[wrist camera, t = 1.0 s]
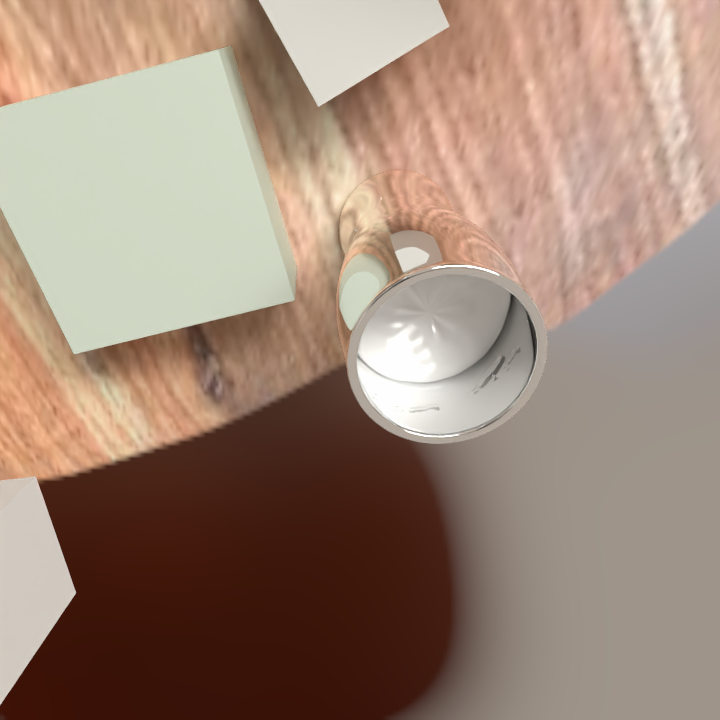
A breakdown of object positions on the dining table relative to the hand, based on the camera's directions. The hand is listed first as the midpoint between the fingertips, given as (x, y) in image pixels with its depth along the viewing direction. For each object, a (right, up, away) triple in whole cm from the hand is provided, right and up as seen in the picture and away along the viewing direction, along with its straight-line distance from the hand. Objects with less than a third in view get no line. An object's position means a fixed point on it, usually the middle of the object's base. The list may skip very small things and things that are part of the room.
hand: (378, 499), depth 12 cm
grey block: (-1, +19, +17) cm, 25 cm away
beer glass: (+2, +10, +22) cm, 24 cm away
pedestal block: (-10, +11, +21) cm, 26 cm away
